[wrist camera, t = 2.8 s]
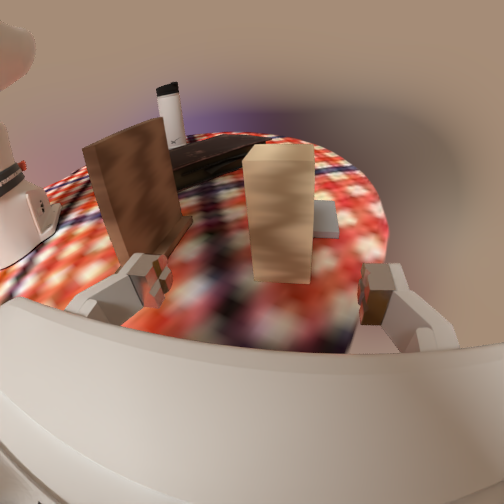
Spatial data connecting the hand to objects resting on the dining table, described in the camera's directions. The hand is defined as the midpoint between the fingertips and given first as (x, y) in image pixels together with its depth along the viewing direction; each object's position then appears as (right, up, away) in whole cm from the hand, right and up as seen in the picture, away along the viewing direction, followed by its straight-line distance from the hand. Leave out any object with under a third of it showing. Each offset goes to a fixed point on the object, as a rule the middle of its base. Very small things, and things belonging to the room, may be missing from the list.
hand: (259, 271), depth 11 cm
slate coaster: (+6, +5, +22) cm, 23 cm away
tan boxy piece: (+3, -1, +15) cm, 16 cm away
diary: (-11, +18, +44) cm, 49 cm away
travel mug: (-22, +30, +62) cm, 72 cm away
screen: (-11, +1, +20) cm, 23 cm away
